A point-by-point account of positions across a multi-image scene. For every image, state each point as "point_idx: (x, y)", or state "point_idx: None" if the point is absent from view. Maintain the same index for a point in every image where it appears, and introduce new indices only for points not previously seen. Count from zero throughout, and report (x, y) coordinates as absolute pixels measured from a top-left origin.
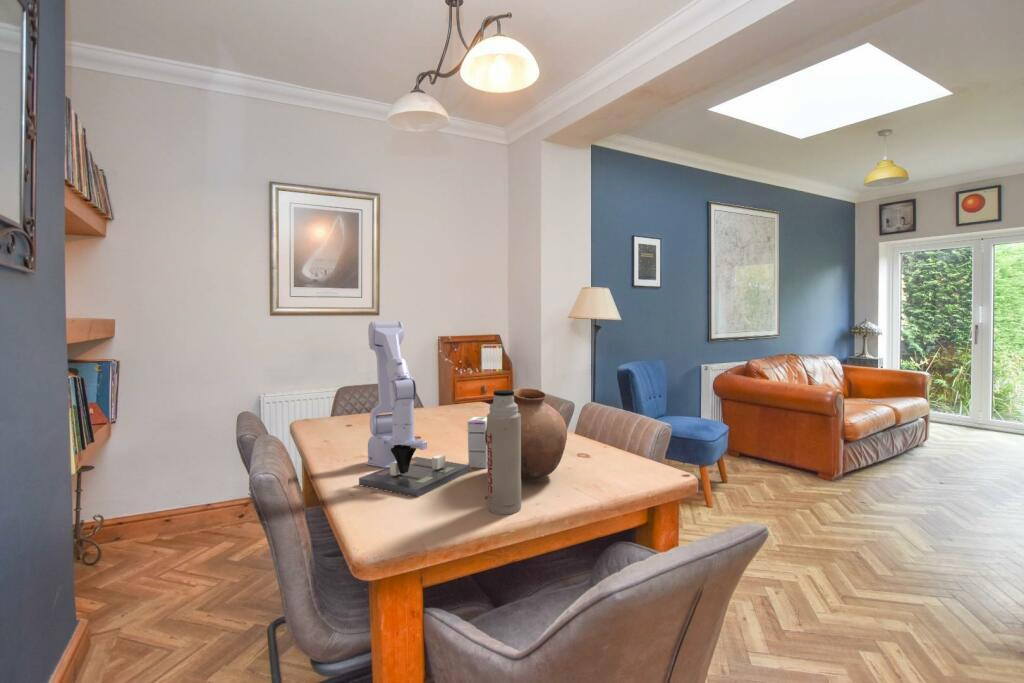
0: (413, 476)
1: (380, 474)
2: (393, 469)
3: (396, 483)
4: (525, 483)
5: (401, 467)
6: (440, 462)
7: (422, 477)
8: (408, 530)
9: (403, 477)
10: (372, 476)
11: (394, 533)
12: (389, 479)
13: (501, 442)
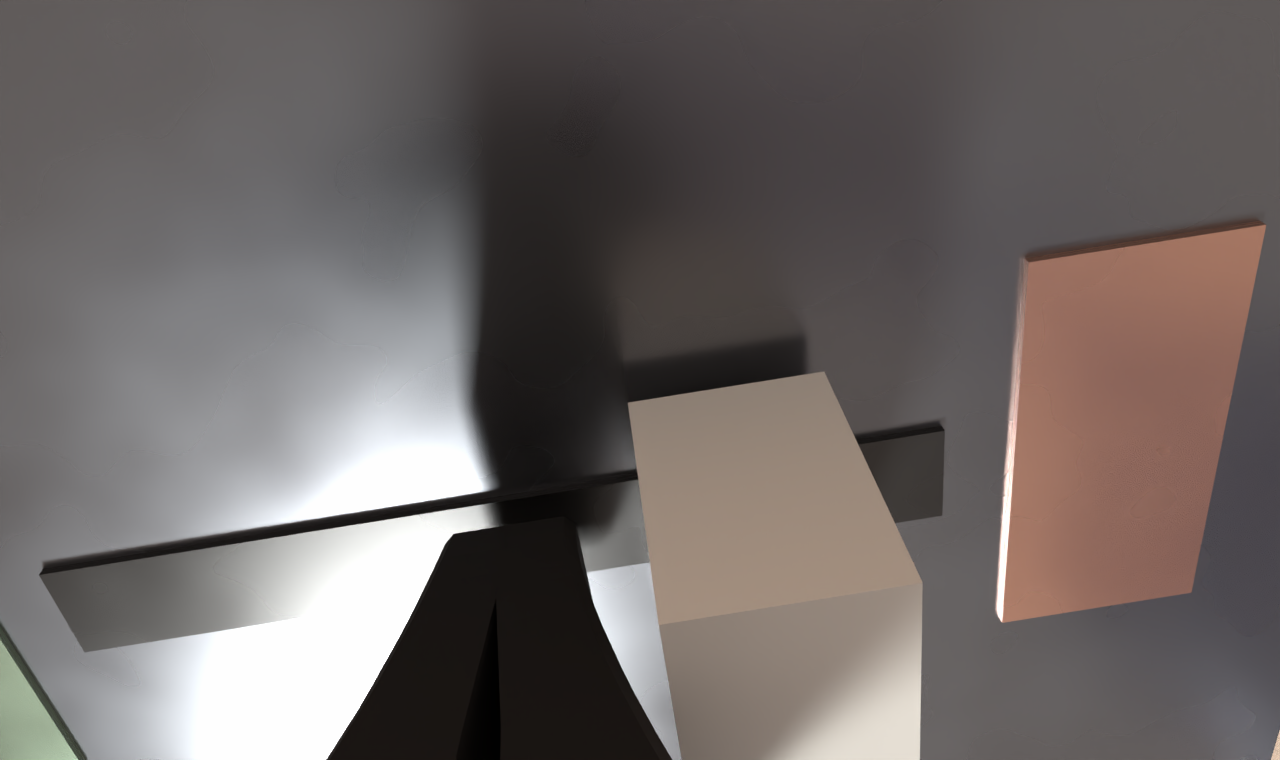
0: (332, 629)
1: (1122, 278)
2: (724, 488)
3: (103, 49)
4: None
5: (454, 633)
6: None
7: (110, 690)
8: None
9: (442, 471)
10: (1243, 51)
11: None
12: (604, 170)
13: None
